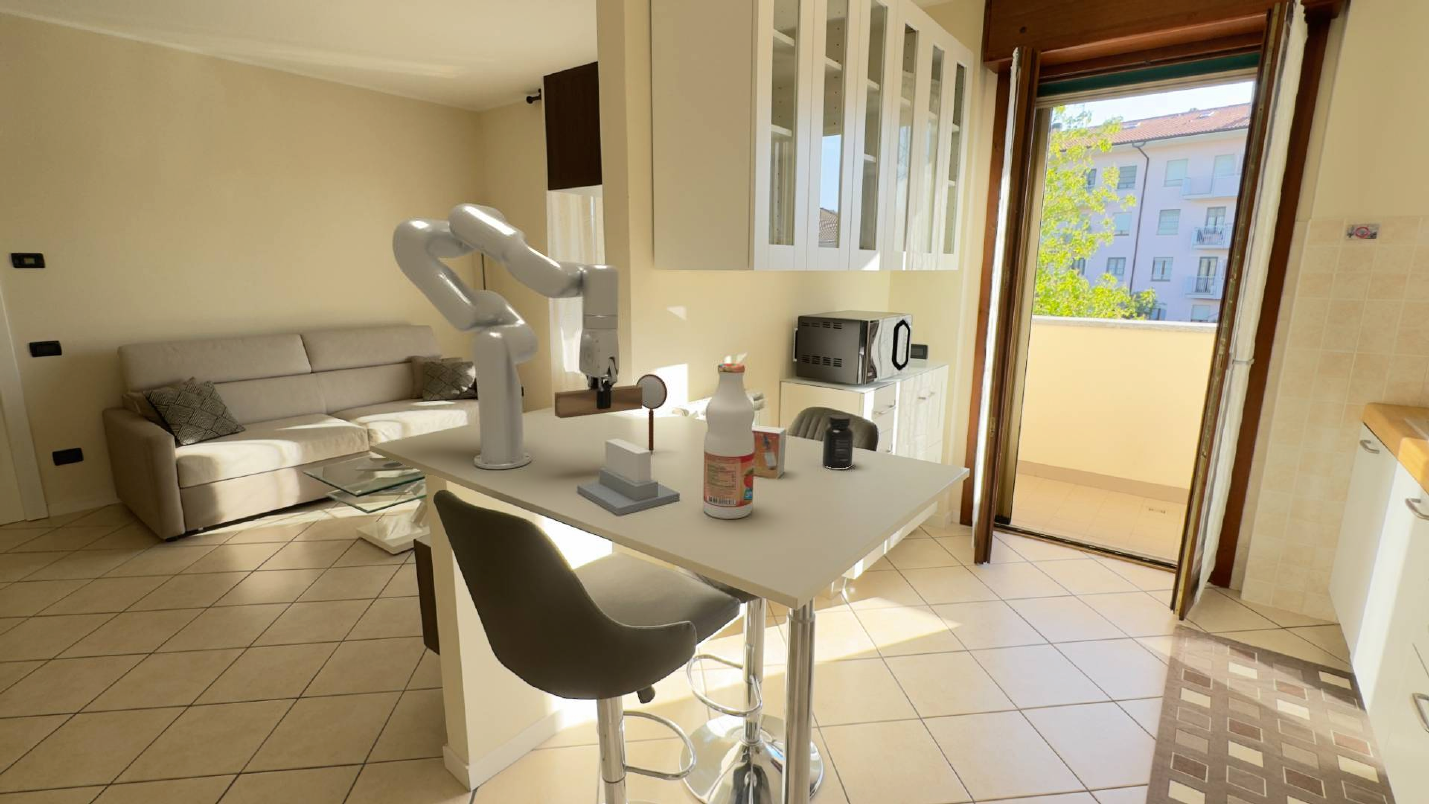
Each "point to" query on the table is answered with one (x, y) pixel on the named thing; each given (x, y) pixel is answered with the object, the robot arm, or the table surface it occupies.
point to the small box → (769, 451)
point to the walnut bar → (587, 401)
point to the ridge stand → (627, 481)
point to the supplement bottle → (838, 442)
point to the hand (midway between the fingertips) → (599, 406)
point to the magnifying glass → (652, 399)
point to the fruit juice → (729, 447)
